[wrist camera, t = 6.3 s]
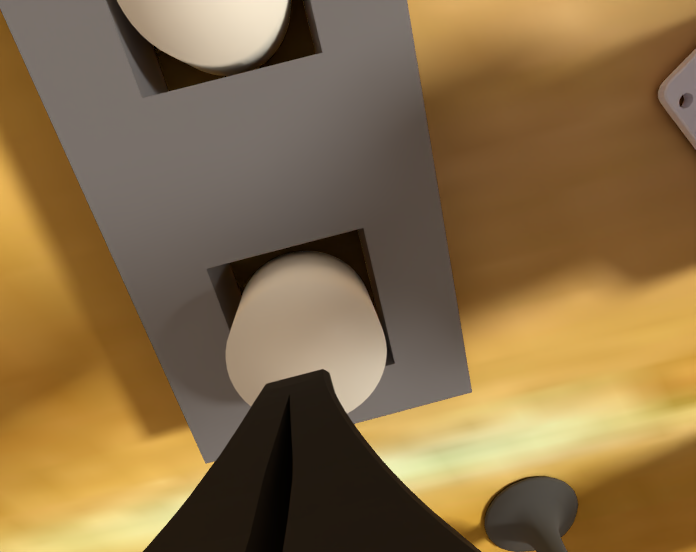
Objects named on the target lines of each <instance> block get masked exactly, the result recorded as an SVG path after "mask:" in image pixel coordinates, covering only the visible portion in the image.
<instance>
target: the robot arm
mask: <svg viewBox="0 0 696 552" xmlns="http://www.w3.org/2000/svg"><path fill="white" fill-rule="evenodd" d="M682 95H683V97H684V102H683V104H682V106H681V107H680V105H679V100H680V98H681V96H682ZM658 99H659V101H660V103H661V104H662V106H663V107H664V108H665V110H666V111H667V112H668V114H669V115H670V116H671V118H672V119H673V120H674V122H675V123H676V124H677V126H678V127H679V128H680V130H681V131H682V132H683V134H684V135H685V136H686V137H687V139H688V140H689V141H690V143H691V144H692V145H693V147H694V148H695V149H696V48H695V49H694V50H693V52H692V53H691V54H690V55H689V56H688V57H687V58H686V59H685V60H684V61H683V62H682V63H681V64H680V65H679V66H678V67H677V68H676V69H675V70H674V71H673V72H672V73H671V74H670V75H669V76H668V77H667V78H666V79H665V80H664V81H663V83H662V84H661V85H660V87H659V90H658ZM143 552H481V551H480V550H479V549H477V548H476V547H475V546H474V545H473V544H471V543H470V542H469V541H468V540H467V539H465V538H464V537H463V536H462V535H461V534H459V533H458V532H457V531H456V530H455V529H453V528H452V527H451V526H450V525H449V524H448V523H446V522H445V521H444V520H443V519H442V518H440V517H439V516H438V515H437V514H436V513H434V512H433V511H432V510H431V509H430V508H429V507H428V506H426V505H425V504H424V503H423V502H422V501H421V500H420V499H419V498H418V497H417V496H416V495H415V494H414V493H413V492H412V491H411V490H410V489H409V488H408V487H407V486H406V485H405V484H404V483H403V482H402V481H401V480H400V479H399V478H398V477H397V476H396V475H395V474H394V473H393V472H392V471H391V470H390V469H389V467H388V466H387V465H386V464H385V463H384V462H383V461H382V460H381V458H380V457H379V456H378V455H377V454H376V452H375V451H374V450H373V449H372V447H371V446H370V445H369V444H368V443H367V441H366V440H365V439H364V437H363V436H362V435H361V433H360V432H359V431H358V429H357V428H356V427H355V425H354V424H353V422H352V420H351V419H350V417H349V416H348V414H347V413H346V411H345V410H344V408H343V407H342V405H341V403H340V401H339V399H338V397H337V396H336V394H335V390H334V387H333V383H332V380H331V376H330V373H329V372H328V371H326V370H324V369H321V370H317V371H313V372H309V373H305V374H301V375H297V376H294V377H290V378H286V379H282V380H278V381H274V382H271V383H267V384H265V386H264V387H263V389H262V391H261V392H260V394H259V395H258V397H257V398H256V400H255V401H254V403H253V405H252V406H251V408H250V409H249V411H248V413H247V414H246V416H245V417H244V419H243V421H242V422H241V424H240V425H239V427H238V428H237V430H236V431H235V433H234V435H233V436H232V438H231V439H230V441H229V442H228V444H227V445H226V447H225V448H224V450H223V451H222V453H221V454H220V456H219V457H218V458H217V460H216V461H215V462H214V464H213V465H212V466H211V468H210V469H209V471H208V472H207V473H206V475H205V476H204V477H203V479H202V480H201V481H200V483H199V484H198V486H197V487H196V488H195V490H194V491H193V492H192V494H191V495H190V496H189V498H188V499H187V500H186V501H185V503H184V504H183V505H182V506H181V508H180V509H179V510H178V511H177V513H176V514H175V515H174V516H173V517H172V519H171V520H170V521H169V522H168V523H167V525H166V526H165V527H164V528H163V529H162V530H161V531H160V533H159V534H158V535H157V536H156V537H155V538H154V540H153V541H152V542H151V543H150V544H149V545H148V546H147V548H146V549H145V550H144V551H143Z"/></svg>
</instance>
